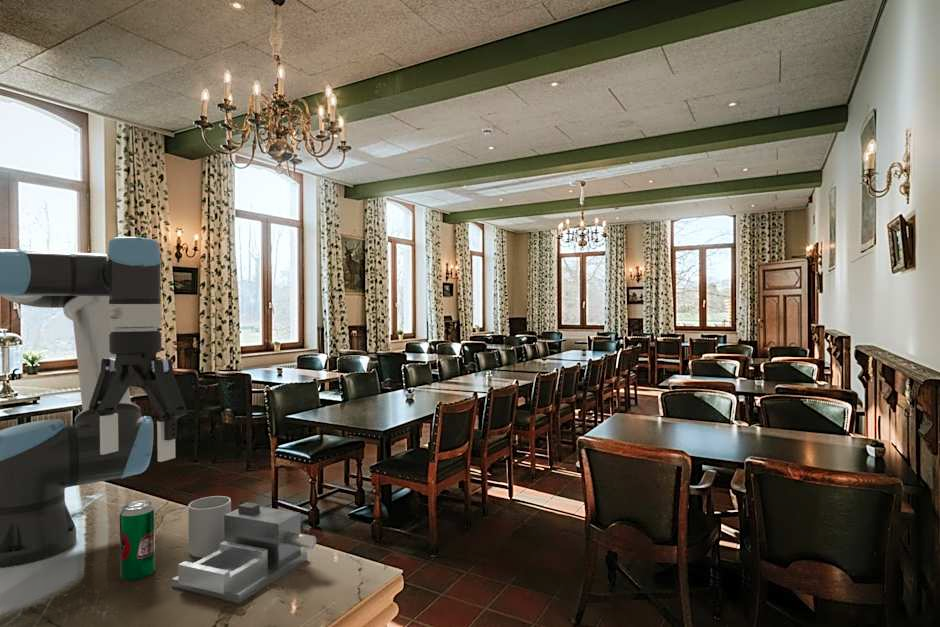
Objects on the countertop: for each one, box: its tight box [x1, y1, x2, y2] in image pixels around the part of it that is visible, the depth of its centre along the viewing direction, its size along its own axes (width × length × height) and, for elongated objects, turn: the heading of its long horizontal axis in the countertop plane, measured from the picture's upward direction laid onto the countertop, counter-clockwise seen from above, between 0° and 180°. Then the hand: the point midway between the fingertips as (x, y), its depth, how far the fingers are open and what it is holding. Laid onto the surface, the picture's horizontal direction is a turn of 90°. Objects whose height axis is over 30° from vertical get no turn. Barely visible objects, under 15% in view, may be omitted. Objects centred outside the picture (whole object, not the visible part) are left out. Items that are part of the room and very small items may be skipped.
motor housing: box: [171, 501, 317, 604], centre depth 93 cm, size 18×17×10 cm
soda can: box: [119, 500, 156, 582], centre depth 93 cm, size 5×5×12 cm
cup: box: [187, 495, 232, 558], centre depth 104 cm, size 7×10×9 cm
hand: (137, 456), depth 93 cm, fingers open, 13 cm apart
